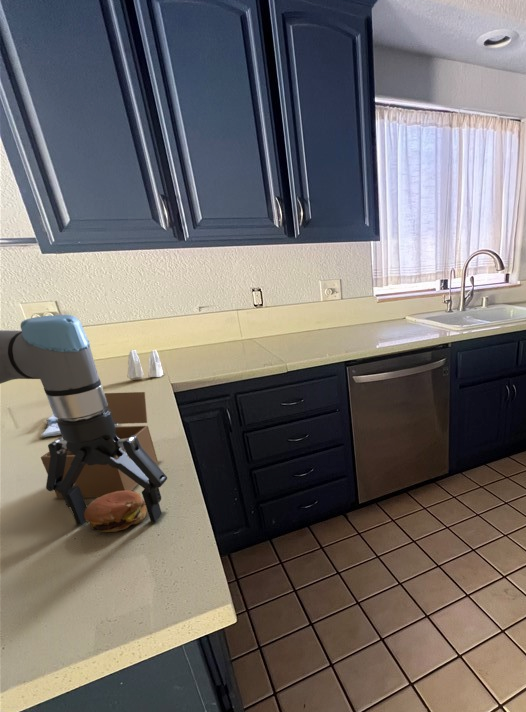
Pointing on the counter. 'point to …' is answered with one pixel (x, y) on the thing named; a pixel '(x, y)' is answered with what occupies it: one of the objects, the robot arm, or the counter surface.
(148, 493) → the robot arm
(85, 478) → the carton
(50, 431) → the snack bag
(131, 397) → the flap
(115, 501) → the burger
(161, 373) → the shaker set
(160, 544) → the counter surface
